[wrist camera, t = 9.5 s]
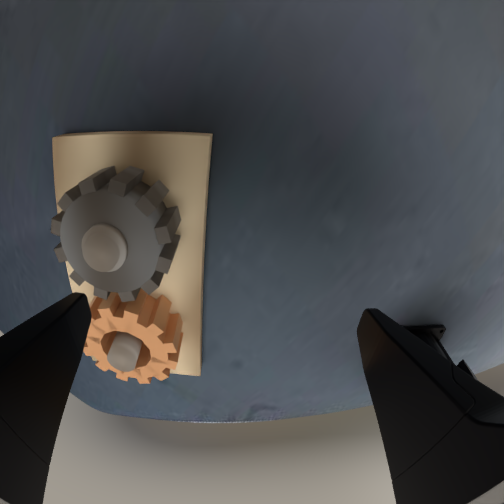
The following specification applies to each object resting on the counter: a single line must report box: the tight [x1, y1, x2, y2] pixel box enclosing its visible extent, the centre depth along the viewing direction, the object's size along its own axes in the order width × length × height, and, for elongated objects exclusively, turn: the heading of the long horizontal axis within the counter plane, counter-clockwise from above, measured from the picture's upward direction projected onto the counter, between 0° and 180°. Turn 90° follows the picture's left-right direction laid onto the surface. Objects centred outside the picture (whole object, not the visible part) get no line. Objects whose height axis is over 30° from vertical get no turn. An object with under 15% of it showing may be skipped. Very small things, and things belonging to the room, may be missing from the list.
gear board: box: [51, 131, 213, 376], centre depth 18 cm, size 10×19×6 cm, turn 173°
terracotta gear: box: [83, 289, 183, 384], centre depth 20 cm, size 7×7×3 cm
